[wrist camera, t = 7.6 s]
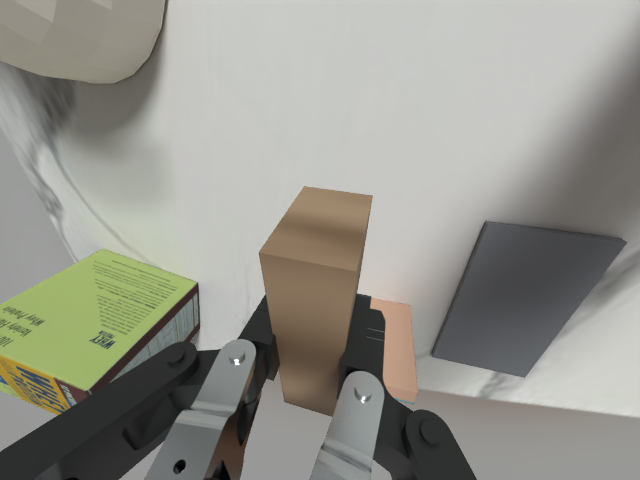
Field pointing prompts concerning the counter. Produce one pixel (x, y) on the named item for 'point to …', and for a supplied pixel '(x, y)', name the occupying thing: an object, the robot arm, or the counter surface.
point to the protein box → (91, 328)
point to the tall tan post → (314, 290)
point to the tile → (398, 350)
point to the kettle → (79, 37)
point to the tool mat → (520, 294)
